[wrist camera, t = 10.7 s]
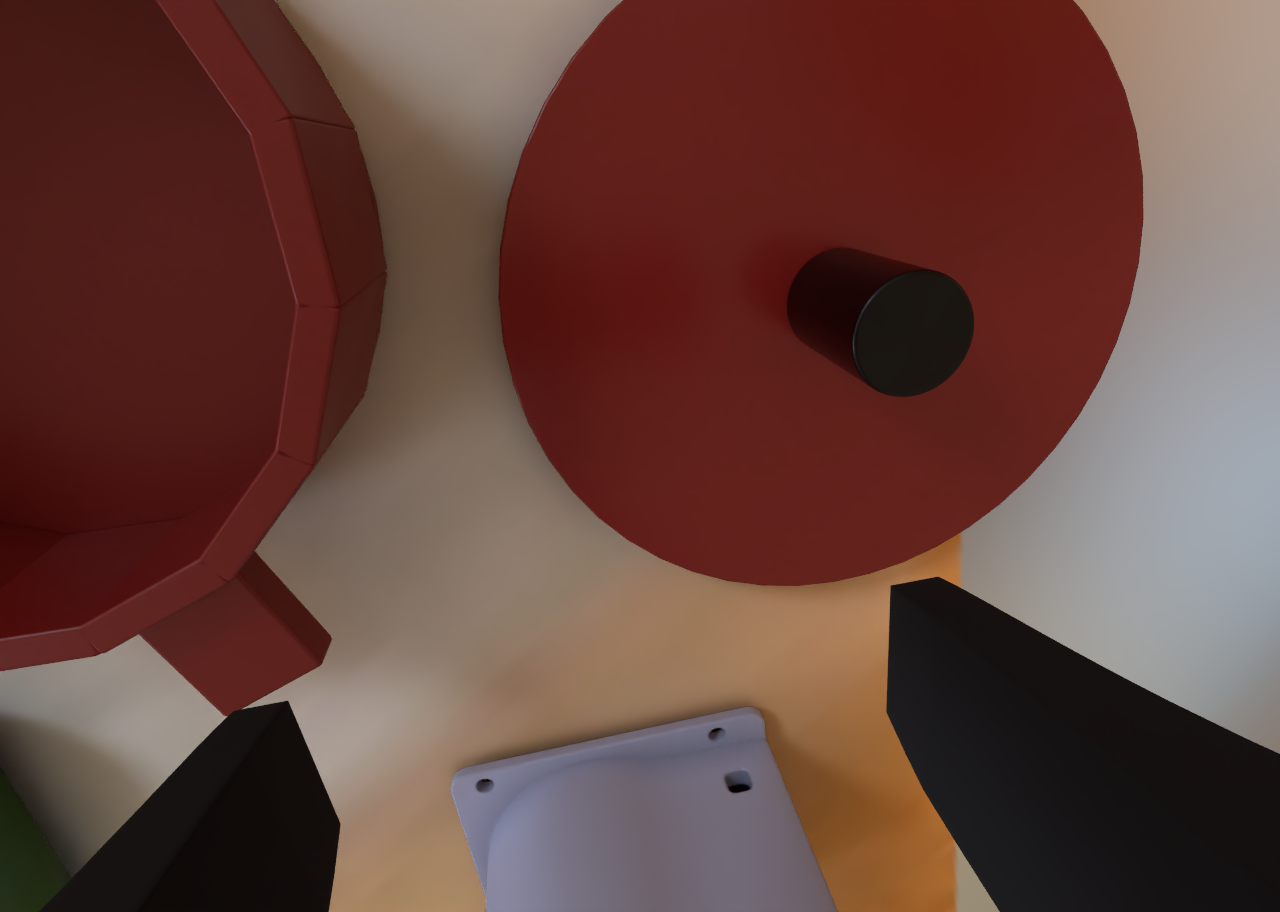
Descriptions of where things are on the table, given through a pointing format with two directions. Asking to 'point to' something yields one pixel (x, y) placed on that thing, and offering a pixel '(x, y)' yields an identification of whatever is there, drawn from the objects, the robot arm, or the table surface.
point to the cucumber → (25, 858)
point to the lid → (817, 271)
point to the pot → (171, 329)
